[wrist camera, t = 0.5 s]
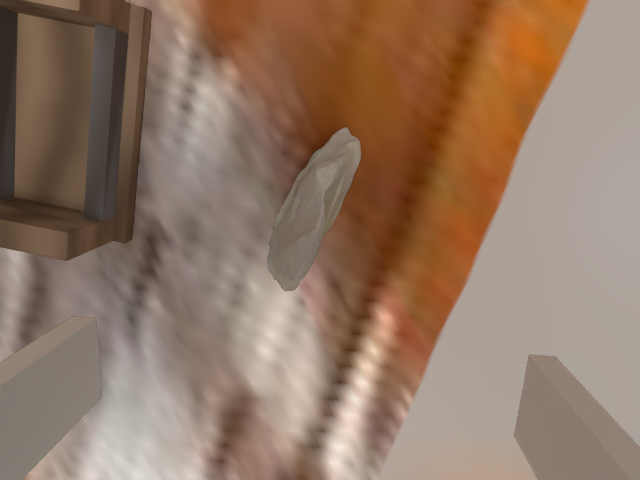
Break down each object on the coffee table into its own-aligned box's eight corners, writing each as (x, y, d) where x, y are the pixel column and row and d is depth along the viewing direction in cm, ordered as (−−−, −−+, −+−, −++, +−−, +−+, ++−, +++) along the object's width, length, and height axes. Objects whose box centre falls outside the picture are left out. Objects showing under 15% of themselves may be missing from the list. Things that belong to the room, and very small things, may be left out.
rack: (-4, 212, 37) (-86, 229, 30) (-2, -18, 33) (-98, -60, 26) (131, 239, 37) (80, 263, 30) (151, 12, 33) (97, -22, 26)
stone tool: (325, 120, 33) (306, 106, 19) (367, 138, 34) (381, 138, 19) (274, 245, 36) (222, 318, 22) (313, 262, 36) (288, 345, 22)
